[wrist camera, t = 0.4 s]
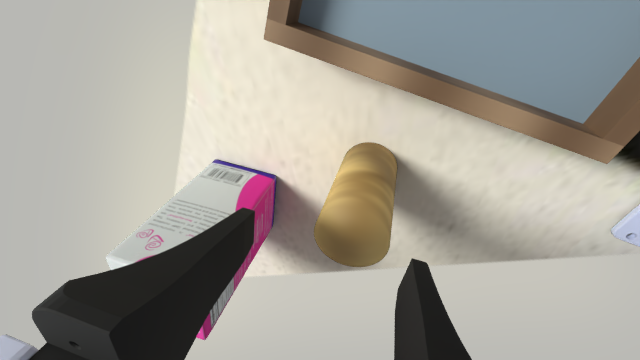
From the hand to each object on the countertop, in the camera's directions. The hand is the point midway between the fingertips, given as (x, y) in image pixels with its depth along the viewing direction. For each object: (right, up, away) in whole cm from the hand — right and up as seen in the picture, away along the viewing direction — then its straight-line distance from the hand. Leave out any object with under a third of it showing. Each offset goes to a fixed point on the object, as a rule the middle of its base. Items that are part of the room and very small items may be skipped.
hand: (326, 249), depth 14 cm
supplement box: (-7, +2, +14) cm, 15 cm away
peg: (+3, +4, +9) cm, 10 cm away
